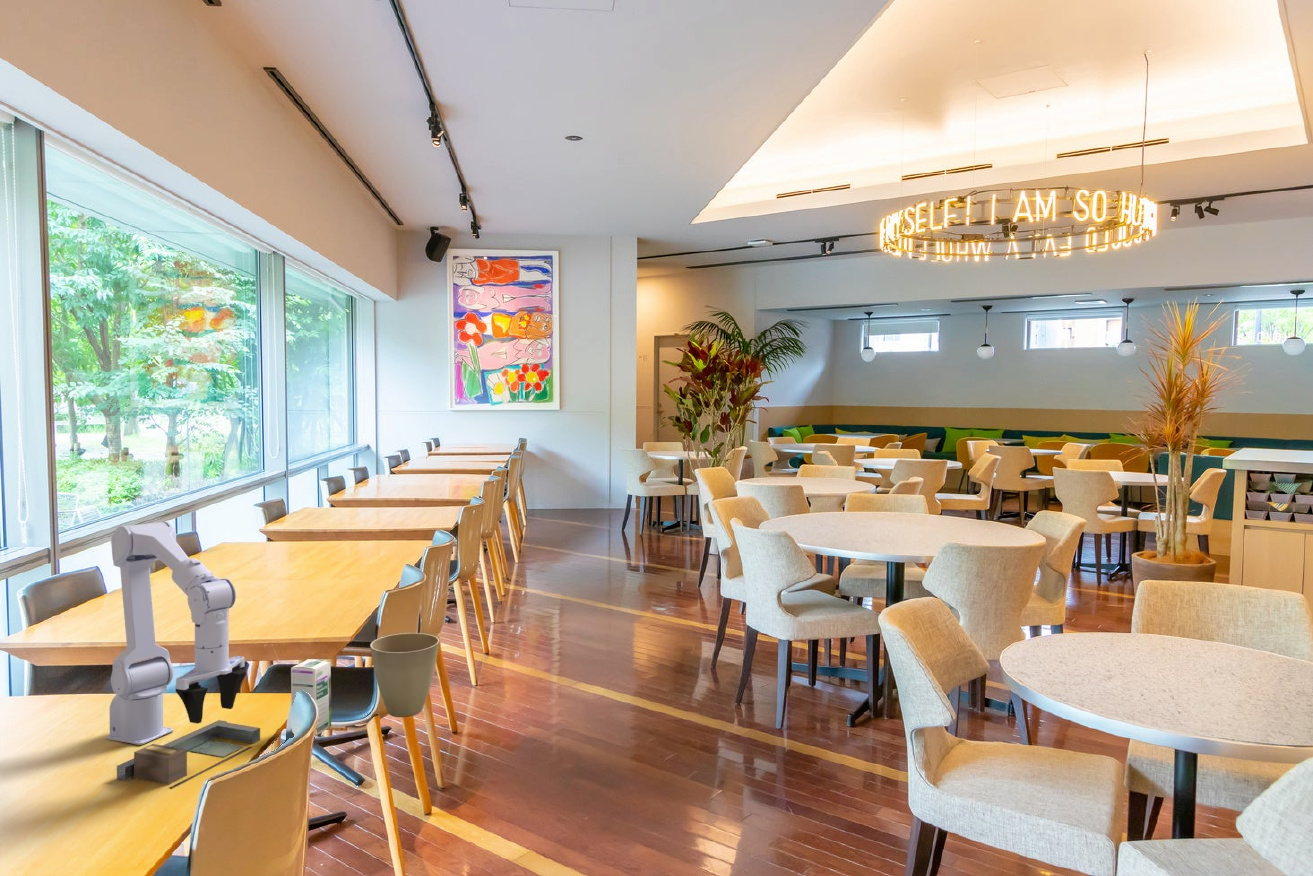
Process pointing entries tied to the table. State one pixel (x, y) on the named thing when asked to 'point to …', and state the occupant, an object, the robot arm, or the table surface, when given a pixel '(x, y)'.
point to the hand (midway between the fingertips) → (211, 715)
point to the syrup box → (314, 687)
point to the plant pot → (404, 670)
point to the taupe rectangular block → (160, 764)
